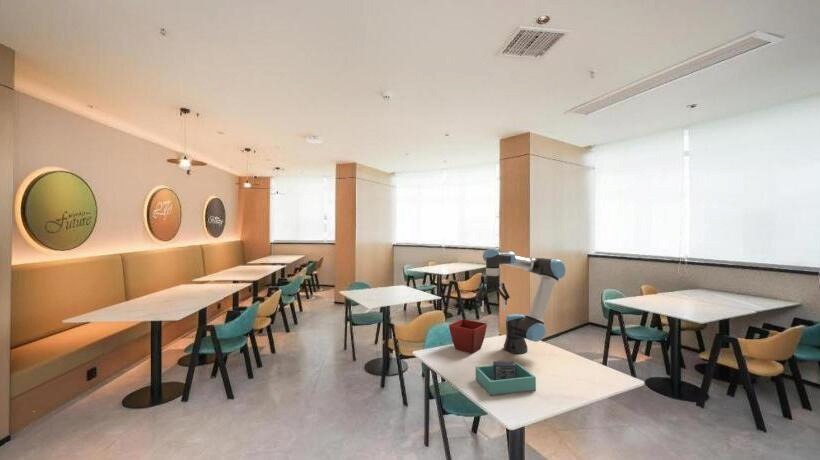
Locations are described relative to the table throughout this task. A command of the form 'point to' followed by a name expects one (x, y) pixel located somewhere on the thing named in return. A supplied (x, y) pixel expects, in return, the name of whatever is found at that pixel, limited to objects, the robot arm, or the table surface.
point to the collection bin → (505, 381)
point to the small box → (504, 370)
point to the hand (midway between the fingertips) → (493, 311)
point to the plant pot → (467, 335)
